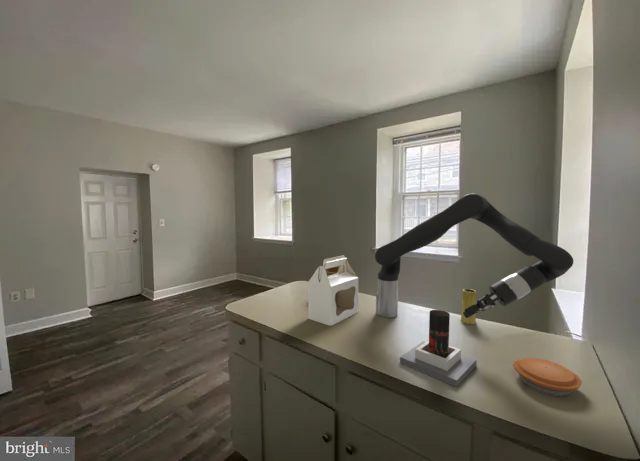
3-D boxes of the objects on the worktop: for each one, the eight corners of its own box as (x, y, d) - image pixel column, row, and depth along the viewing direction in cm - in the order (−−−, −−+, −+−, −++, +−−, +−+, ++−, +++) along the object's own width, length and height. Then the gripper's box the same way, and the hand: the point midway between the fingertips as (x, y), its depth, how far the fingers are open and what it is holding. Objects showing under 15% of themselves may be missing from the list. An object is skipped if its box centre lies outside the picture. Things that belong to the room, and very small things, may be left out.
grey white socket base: (399, 362, 95) (400, 348, 94) (423, 346, 106) (423, 333, 105) (456, 387, 82) (457, 370, 81) (476, 365, 93) (476, 350, 92)
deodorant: (450, 363, 90) (451, 317, 89) (430, 361, 91) (431, 315, 90) (445, 354, 96) (447, 310, 95) (427, 352, 97) (428, 309, 96)
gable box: (330, 326, 124) (330, 262, 122) (307, 319, 133) (307, 258, 130) (358, 312, 141) (359, 255, 139) (337, 306, 149) (337, 252, 147)
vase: (463, 318, 133) (464, 287, 131) (478, 321, 128) (479, 290, 127) (458, 321, 128) (459, 290, 127) (473, 325, 124) (474, 293, 123)
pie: (595, 395, 78) (596, 377, 78) (554, 407, 74) (555, 388, 73) (537, 365, 93) (538, 350, 92) (500, 374, 88) (501, 358, 88)
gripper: (497, 283, 103) (456, 307, 105) (505, 275, 90) (458, 301, 92) (513, 302, 99) (470, 326, 101) (523, 296, 87) (474, 323, 89)
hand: (465, 314), depth 97 cm, fingers open, 8 cm apart
